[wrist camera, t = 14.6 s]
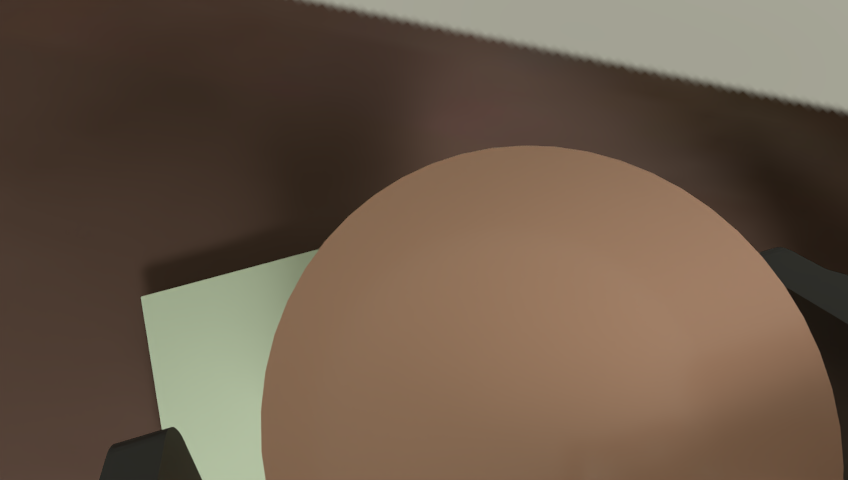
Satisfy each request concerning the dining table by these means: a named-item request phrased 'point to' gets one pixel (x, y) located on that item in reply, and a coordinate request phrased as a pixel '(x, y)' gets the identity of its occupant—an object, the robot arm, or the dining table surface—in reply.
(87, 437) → the dining table surface
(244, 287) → the pad
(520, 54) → the dining table surface
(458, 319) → the peach rounded cylinder
